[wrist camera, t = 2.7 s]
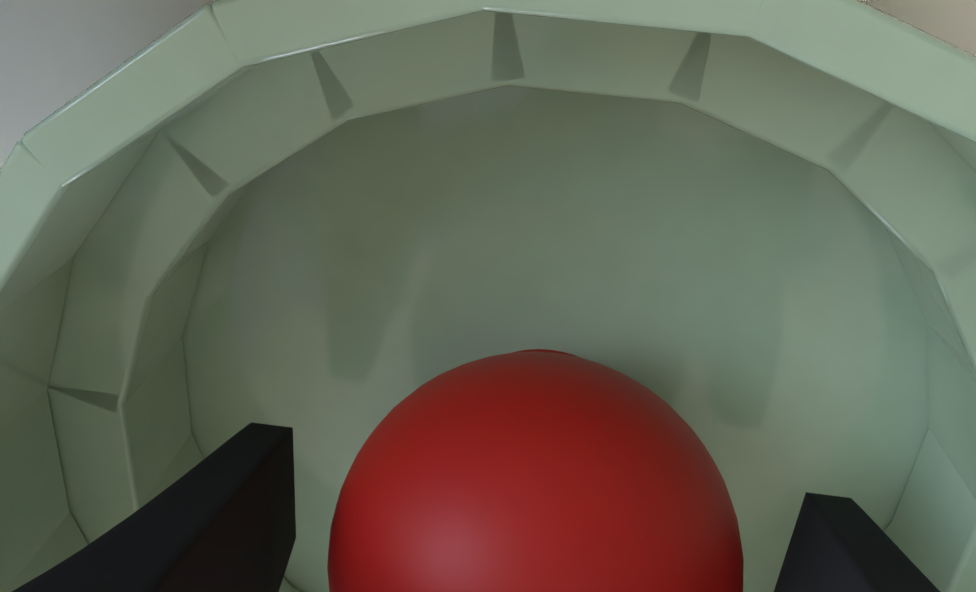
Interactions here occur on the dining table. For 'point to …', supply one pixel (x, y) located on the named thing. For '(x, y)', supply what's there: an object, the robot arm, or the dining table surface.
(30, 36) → the dining table surface
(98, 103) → the bowl
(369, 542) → the red ball
